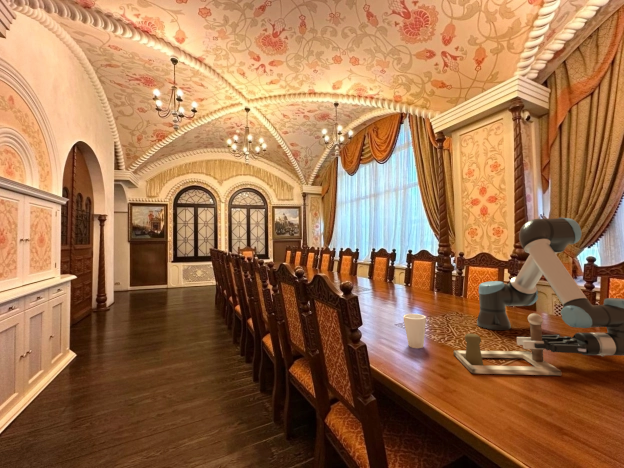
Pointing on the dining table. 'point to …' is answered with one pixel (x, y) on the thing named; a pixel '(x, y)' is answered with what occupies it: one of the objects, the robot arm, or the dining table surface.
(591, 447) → the dining table surface
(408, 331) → the foam cup
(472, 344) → the cork
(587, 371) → the dining table surface
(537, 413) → the dining table surface
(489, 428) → the dining table surface
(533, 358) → the joystick on frame
